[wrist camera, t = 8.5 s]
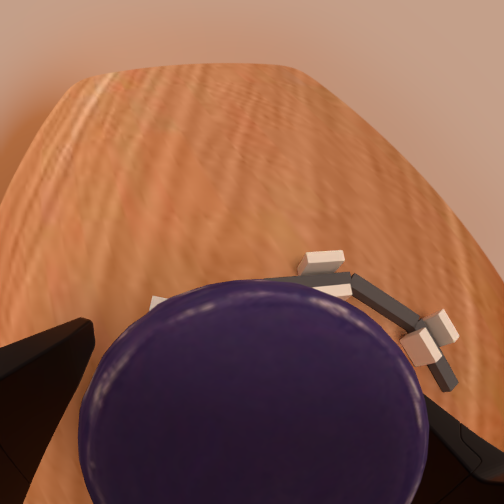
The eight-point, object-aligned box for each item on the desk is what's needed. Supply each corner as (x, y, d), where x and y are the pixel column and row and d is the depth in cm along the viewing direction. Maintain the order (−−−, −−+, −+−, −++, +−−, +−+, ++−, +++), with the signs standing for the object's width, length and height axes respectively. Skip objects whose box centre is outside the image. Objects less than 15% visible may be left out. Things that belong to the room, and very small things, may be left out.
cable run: (447, 394, 17) (456, 393, 16) (229, 318, 19) (229, 314, 18) (460, 325, 20) (468, 322, 19) (262, 242, 21) (264, 235, 20)
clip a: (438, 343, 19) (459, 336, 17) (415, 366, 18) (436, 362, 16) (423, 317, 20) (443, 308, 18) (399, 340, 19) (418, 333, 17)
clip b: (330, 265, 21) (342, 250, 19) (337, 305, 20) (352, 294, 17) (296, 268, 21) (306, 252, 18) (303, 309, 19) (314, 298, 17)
